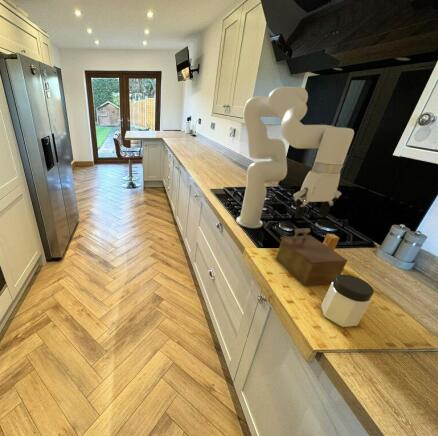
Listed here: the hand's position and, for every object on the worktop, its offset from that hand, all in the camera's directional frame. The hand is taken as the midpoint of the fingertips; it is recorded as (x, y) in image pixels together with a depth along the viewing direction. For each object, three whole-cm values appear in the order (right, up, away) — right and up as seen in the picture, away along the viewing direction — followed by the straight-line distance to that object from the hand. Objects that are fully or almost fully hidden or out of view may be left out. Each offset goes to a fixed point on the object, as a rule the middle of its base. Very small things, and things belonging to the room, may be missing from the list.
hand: (310, 215), depth 84 cm
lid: (0, -12, 0) cm, 12 cm away
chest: (0, -20, +3) cm, 21 cm away
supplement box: (+13, -17, +11) cm, 24 cm away
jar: (-3, -30, -15) cm, 33 cm away
